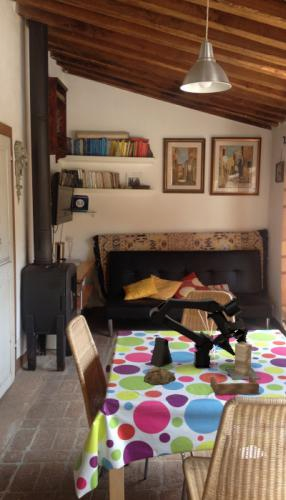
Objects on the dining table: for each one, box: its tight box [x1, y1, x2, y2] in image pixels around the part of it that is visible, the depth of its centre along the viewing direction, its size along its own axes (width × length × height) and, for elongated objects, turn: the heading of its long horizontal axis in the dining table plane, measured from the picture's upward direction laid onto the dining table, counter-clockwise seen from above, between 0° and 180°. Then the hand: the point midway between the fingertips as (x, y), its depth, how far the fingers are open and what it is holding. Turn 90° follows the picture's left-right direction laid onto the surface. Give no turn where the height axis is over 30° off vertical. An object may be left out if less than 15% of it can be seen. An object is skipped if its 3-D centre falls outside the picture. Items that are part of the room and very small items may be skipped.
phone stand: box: [149, 336, 174, 368], centre depth 204 cm, size 9×6×12 cm, turn 132°
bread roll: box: [143, 367, 177, 386], centre depth 185 cm, size 13×12×5 cm
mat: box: [225, 367, 261, 381], centre depth 192 cm, size 12×12×1 cm
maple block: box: [234, 342, 252, 376], centre depth 191 cm, size 5×5×13 cm
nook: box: [209, 376, 260, 396], centre depth 176 cm, size 17×9×4 cm, turn 93°
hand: (241, 353), depth 191 cm, fingers open, 9 cm apart
